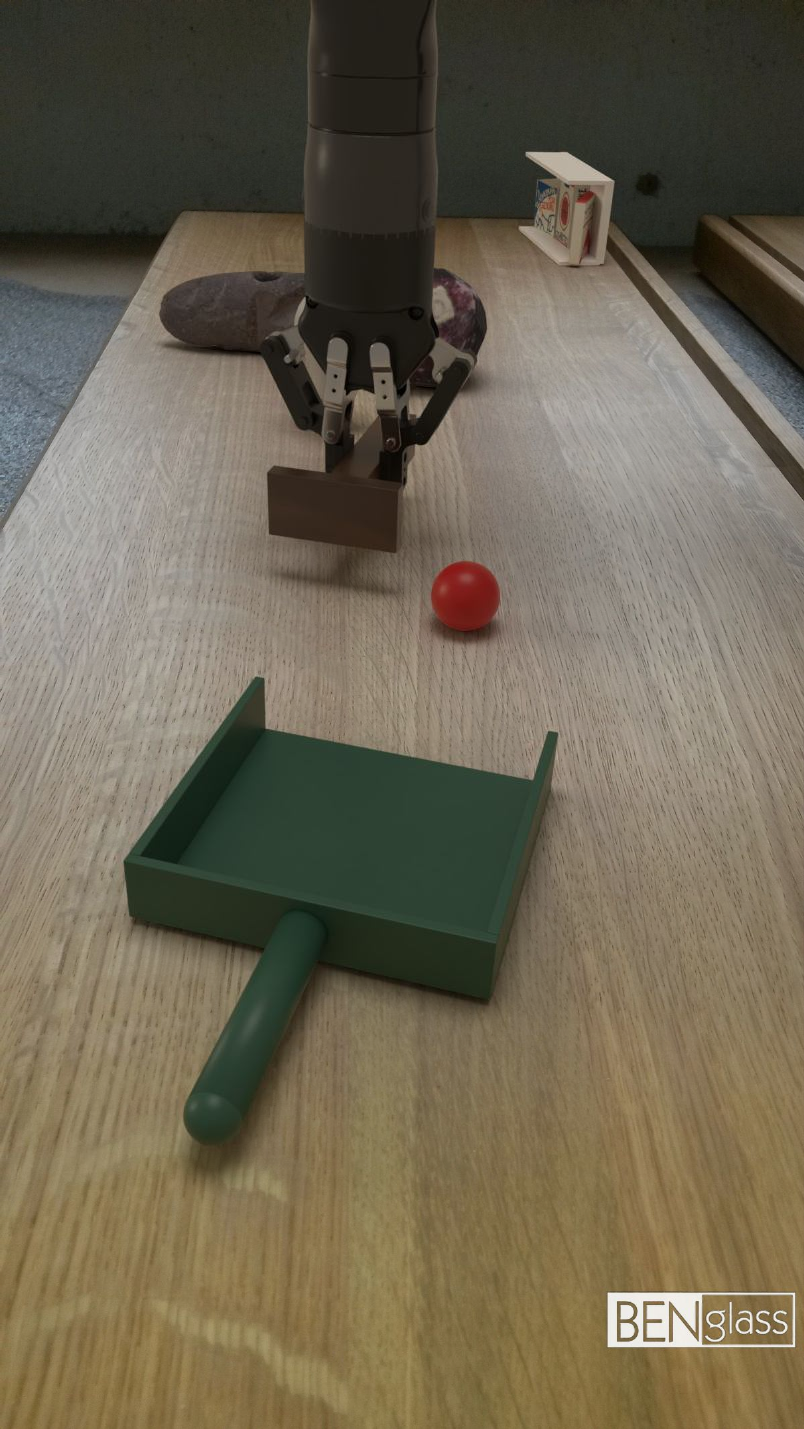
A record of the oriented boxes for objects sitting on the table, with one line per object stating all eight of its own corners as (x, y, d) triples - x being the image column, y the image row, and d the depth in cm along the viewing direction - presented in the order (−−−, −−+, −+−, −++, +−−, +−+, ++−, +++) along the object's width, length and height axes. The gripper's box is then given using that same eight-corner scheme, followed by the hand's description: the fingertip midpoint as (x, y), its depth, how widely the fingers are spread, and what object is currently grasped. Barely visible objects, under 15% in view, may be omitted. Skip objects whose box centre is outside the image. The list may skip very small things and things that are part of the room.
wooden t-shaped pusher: (343, 446, 86) (344, 390, 84) (454, 461, 84) (457, 404, 82) (268, 534, 74) (266, 472, 71) (396, 553, 72) (398, 490, 70)
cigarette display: (518, 229, 160) (525, 151, 154) (559, 229, 161) (567, 152, 155) (562, 268, 143) (571, 182, 138) (607, 268, 144) (618, 183, 139)
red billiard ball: (503, 616, 72) (509, 555, 70) (489, 648, 69) (495, 586, 67) (438, 605, 73) (442, 544, 71) (421, 636, 70) (425, 574, 68)
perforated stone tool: (156, 352, 111) (150, 274, 107) (166, 335, 115) (162, 259, 111) (320, 361, 111) (321, 282, 107) (325, 344, 115) (326, 267, 111)
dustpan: (256, 731, 61) (255, 675, 59) (550, 788, 58) (558, 731, 57) (-1, 1117, 42) (-15, 1051, 40) (425, 1233, 39) (431, 1168, 37)
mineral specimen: (337, 365, 104) (363, 245, 102) (397, 385, 113) (422, 274, 111) (434, 387, 100) (464, 261, 97) (489, 405, 109) (517, 290, 107)
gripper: (503, 210, 71) (482, 489, 80) (277, 190, 73) (283, 462, 83) (476, 238, 65) (457, 536, 74) (230, 215, 67) (243, 505, 77)
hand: (365, 496), depth 78 cm, fingers closed on wooden t-shaped pusher, 2 cm apart
